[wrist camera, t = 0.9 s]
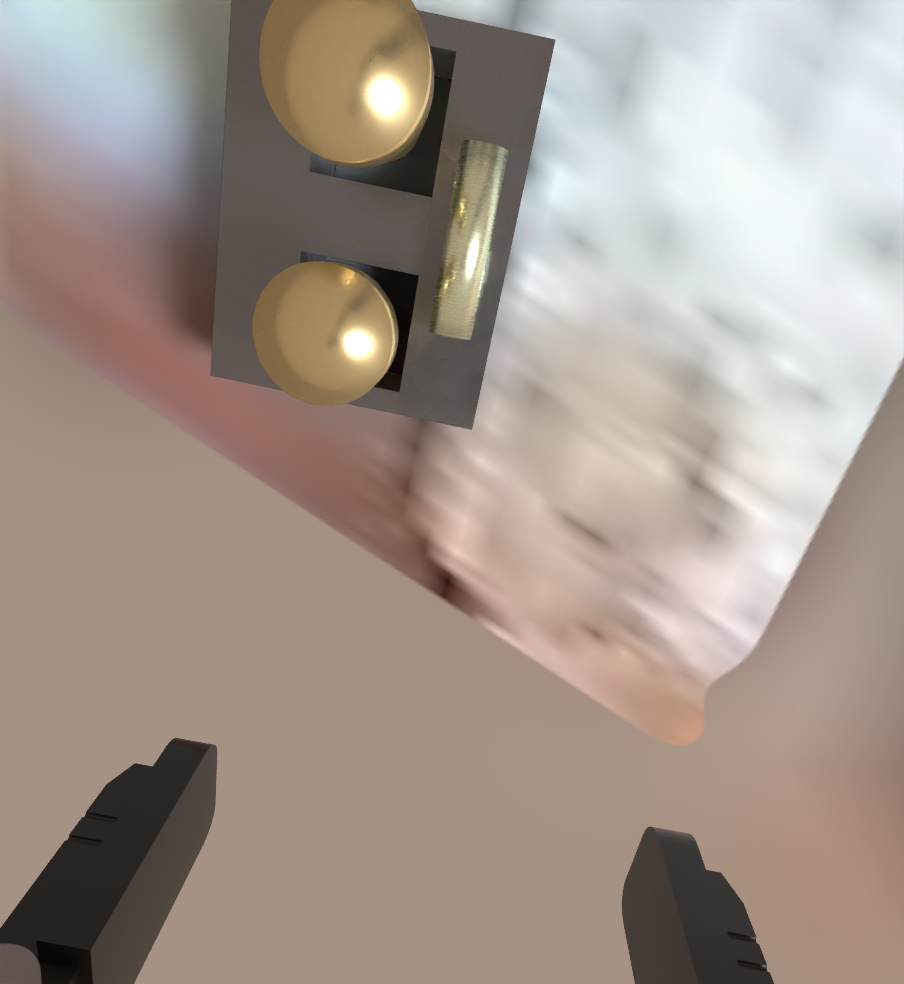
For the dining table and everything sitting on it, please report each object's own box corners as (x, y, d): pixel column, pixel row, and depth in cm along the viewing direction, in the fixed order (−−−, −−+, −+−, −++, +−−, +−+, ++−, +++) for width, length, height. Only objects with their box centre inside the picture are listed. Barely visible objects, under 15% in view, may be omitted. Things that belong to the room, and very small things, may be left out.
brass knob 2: (313, 251, 27) (258, 247, 21) (423, 274, 27) (402, 277, 21) (301, 363, 29) (247, 390, 23) (404, 384, 29) (380, 418, 23)
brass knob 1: (328, 29, 23) (267, -60, 17) (457, 56, 23) (444, -22, 17) (313, 173, 25) (252, 142, 19) (433, 198, 25) (413, 176, 19)
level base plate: (270, 13, 26) (212, -54, 21) (546, 71, 26) (560, 21, 21) (244, 362, 31) (192, 382, 26) (474, 409, 32) (470, 440, 26)
